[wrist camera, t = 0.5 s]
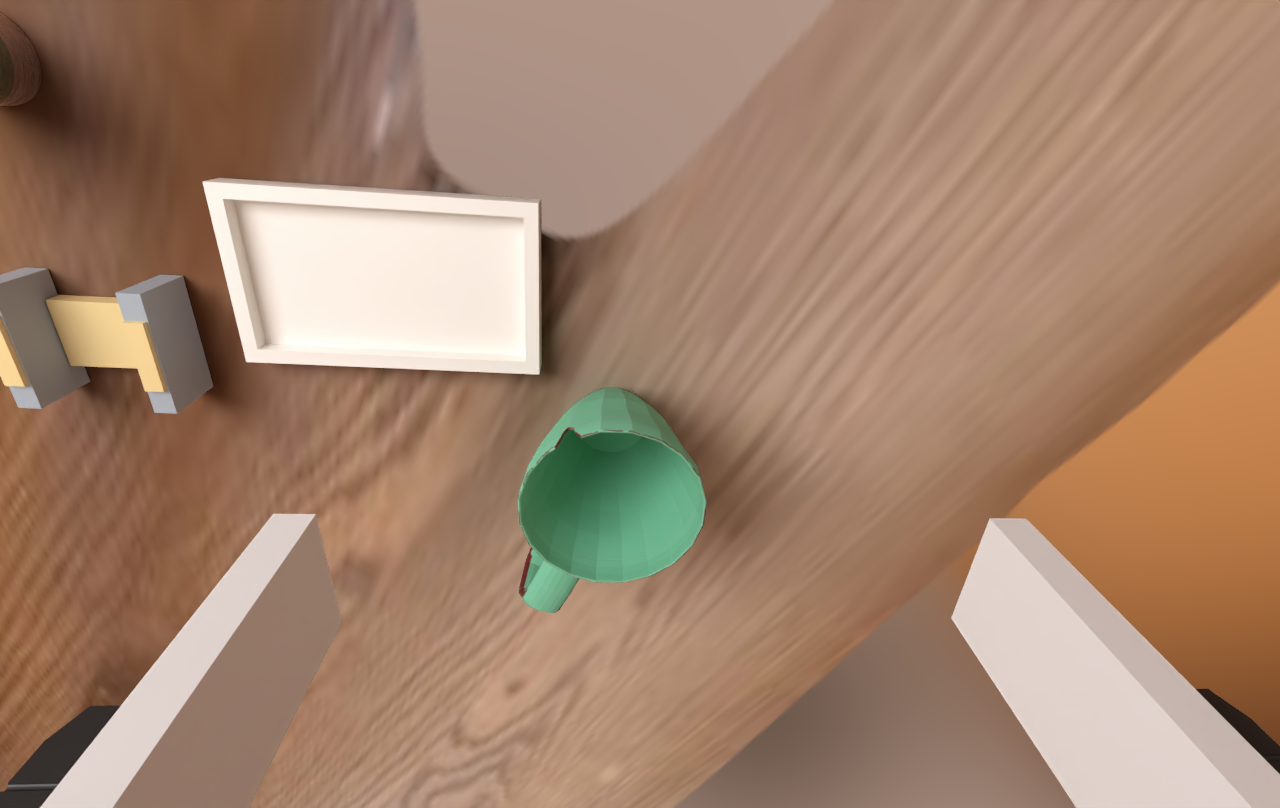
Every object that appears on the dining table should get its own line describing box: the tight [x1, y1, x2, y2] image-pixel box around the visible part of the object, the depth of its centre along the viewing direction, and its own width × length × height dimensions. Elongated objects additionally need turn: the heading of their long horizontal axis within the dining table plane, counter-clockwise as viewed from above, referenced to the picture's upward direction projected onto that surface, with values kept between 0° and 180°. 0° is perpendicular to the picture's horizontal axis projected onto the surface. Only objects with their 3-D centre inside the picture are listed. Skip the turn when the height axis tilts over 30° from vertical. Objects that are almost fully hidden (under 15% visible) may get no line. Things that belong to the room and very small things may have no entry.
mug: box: [518, 388, 707, 613], centre depth 37 cm, size 15×10×10 cm
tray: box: [203, 178, 542, 375], centre depth 34 cm, size 10×17×2 cm, turn 86°
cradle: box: [0, 267, 214, 414], centre depth 34 cm, size 7×8×4 cm
